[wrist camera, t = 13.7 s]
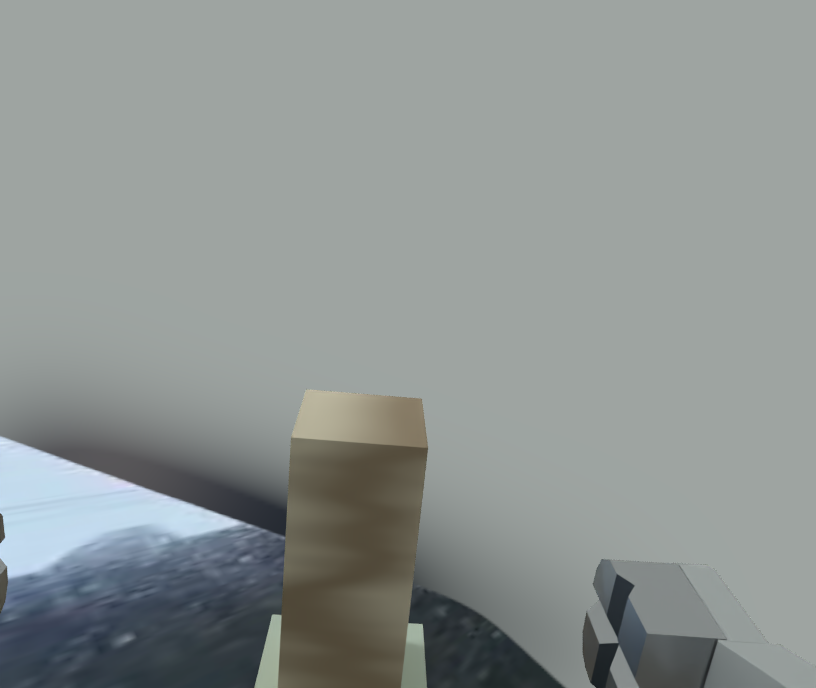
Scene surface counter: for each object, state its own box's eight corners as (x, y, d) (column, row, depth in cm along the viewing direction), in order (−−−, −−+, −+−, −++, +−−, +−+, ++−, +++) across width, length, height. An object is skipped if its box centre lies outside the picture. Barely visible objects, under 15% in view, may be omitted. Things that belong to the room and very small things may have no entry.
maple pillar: (276, 715, 23) (290, 437, 21) (292, 632, 27) (306, 389, 24) (396, 722, 24) (428, 448, 21) (395, 639, 27) (421, 398, 25)
